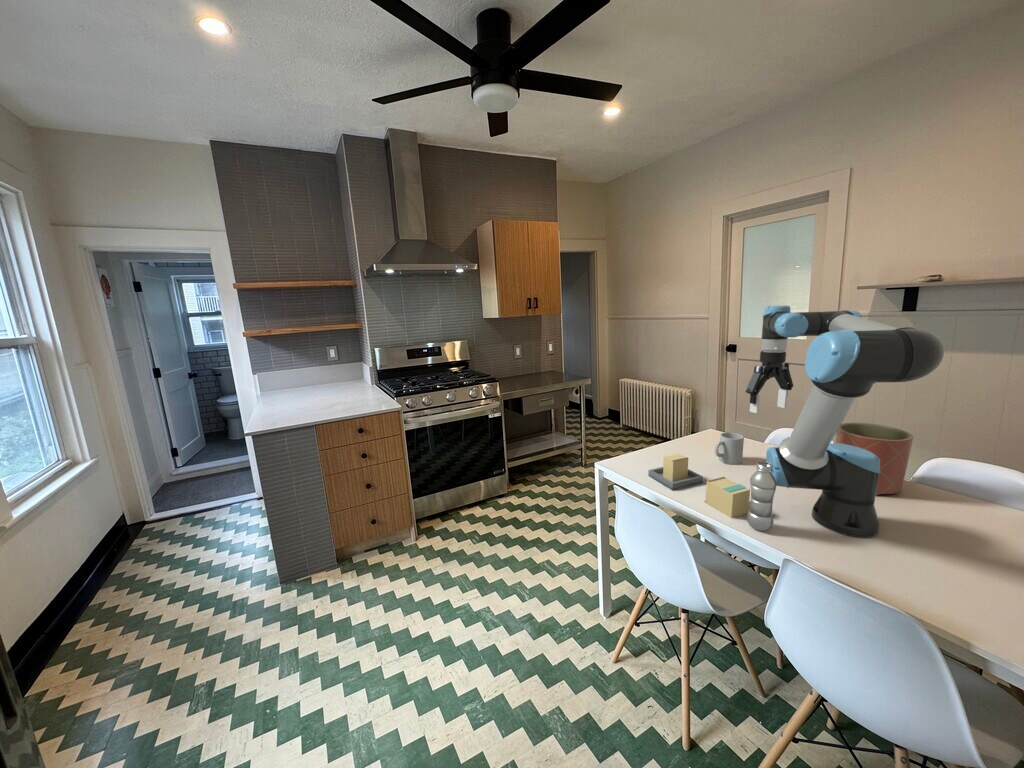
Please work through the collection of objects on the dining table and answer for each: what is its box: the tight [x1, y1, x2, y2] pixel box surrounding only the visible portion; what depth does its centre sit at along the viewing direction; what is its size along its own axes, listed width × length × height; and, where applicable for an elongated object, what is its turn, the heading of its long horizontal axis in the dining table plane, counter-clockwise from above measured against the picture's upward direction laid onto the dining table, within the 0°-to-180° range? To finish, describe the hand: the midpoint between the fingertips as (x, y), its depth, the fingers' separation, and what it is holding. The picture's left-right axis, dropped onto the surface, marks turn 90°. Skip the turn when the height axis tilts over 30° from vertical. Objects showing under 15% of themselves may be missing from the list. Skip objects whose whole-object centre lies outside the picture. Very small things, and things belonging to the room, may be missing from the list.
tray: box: [647, 466, 704, 491], centre depth 147 cm, size 13×14×2 cm
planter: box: [835, 422, 914, 496], centre depth 134 cm, size 19×19×20 cm
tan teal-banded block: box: [703, 476, 751, 519], centre depth 125 cm, size 11×7×8 cm, turn 20°
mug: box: [714, 432, 745, 466], centre depth 159 cm, size 12×8×11 cm
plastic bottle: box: [746, 461, 778, 532], centre depth 112 cm, size 6×7×20 cm
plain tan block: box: [662, 453, 689, 482], centre depth 146 cm, size 5×7×8 cm
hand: (767, 409), depth 138 cm, fingers open, 13 cm apart
